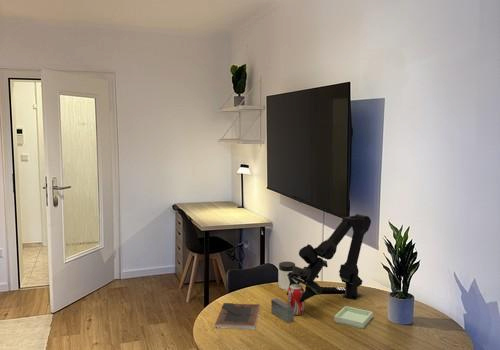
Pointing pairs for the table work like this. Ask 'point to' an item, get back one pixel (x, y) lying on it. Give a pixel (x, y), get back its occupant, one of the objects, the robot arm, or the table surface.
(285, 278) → the jar
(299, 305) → the soda can
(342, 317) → the tray
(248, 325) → the picture frame
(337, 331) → the table surface
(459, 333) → the table surface
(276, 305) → the grey rectangular block
